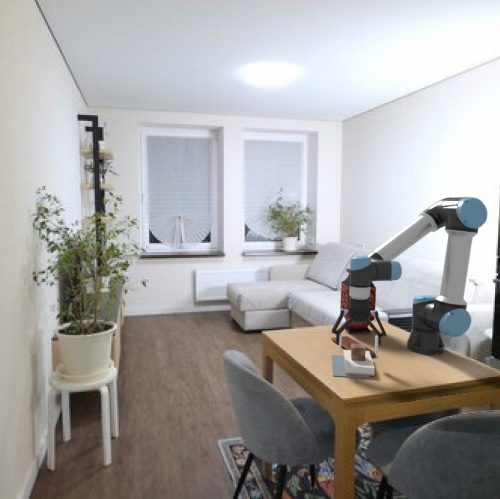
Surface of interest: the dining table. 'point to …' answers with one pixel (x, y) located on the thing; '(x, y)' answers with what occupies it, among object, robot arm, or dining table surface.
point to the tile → (358, 364)
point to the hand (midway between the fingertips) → (358, 352)
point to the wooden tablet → (347, 344)
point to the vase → (345, 288)
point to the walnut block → (358, 352)
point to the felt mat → (342, 368)
